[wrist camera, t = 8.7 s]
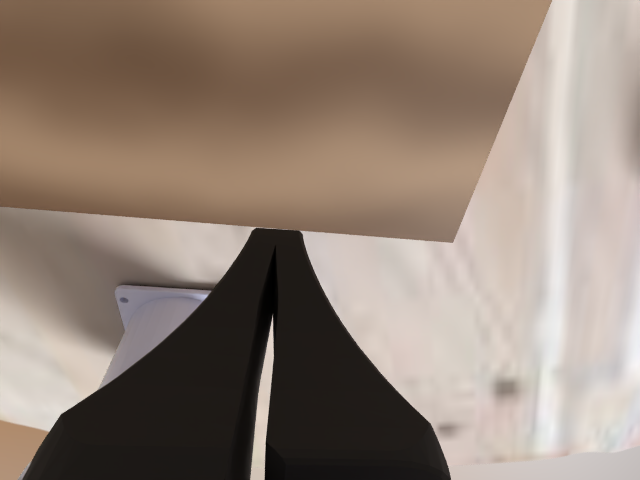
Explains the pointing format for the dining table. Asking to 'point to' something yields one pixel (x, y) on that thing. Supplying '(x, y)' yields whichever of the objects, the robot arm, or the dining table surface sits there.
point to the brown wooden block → (259, 109)
